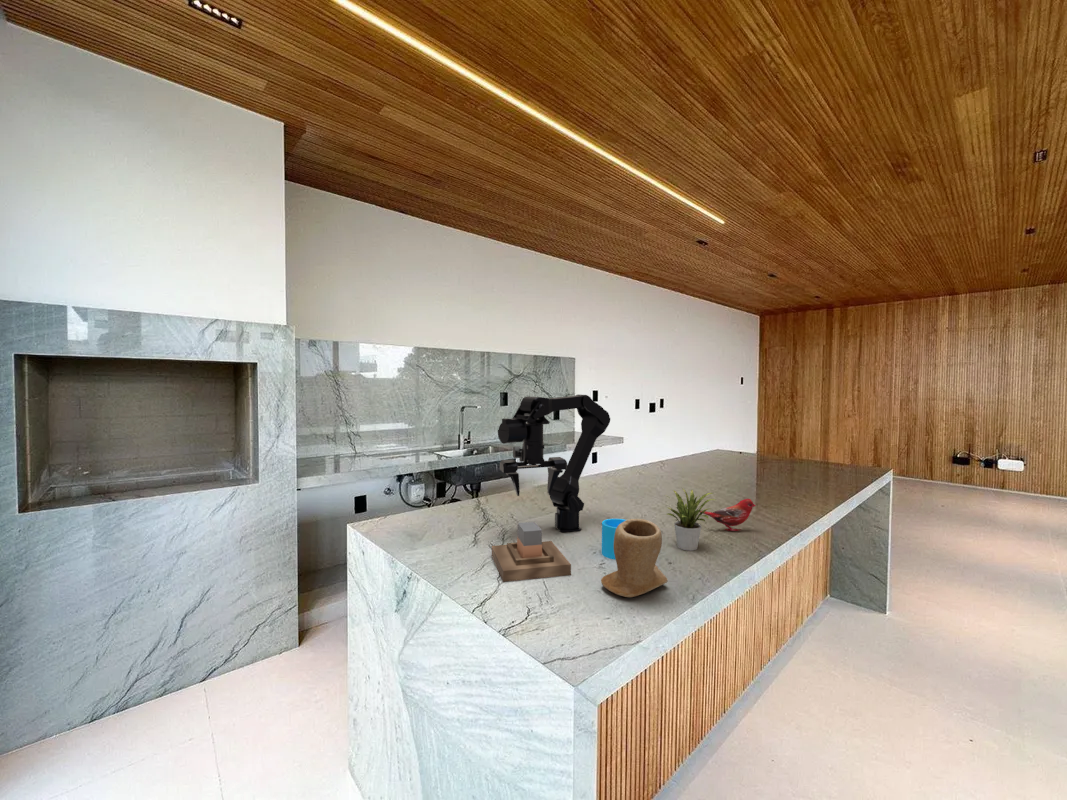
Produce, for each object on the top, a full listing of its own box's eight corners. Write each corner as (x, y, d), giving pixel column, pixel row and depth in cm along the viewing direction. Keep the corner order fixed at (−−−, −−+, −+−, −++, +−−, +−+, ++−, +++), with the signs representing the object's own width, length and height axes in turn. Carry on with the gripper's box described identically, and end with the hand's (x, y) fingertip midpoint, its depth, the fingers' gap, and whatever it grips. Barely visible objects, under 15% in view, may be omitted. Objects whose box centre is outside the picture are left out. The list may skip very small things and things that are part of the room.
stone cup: (633, 609, 92) (635, 535, 91) (593, 587, 101) (594, 519, 101) (682, 590, 100) (684, 522, 100) (641, 571, 110) (642, 509, 109)
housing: (541, 559, 110) (542, 530, 110) (523, 560, 109) (523, 531, 109) (534, 548, 117) (534, 521, 117) (517, 550, 116) (517, 522, 116)
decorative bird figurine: (757, 533, 138) (758, 500, 138) (697, 532, 139) (698, 499, 138) (753, 529, 141) (754, 497, 141) (694, 529, 141) (695, 496, 141)
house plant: (728, 547, 126) (730, 488, 125) (708, 562, 116) (709, 497, 115) (679, 535, 136) (680, 480, 135) (656, 547, 126) (657, 488, 125)
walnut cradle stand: (551, 550, 123) (551, 536, 123) (570, 574, 108) (571, 559, 107) (491, 555, 119) (491, 541, 119) (503, 581, 104) (503, 565, 103)
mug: (613, 562, 115) (614, 530, 115) (595, 551, 123) (595, 520, 122) (651, 554, 121) (652, 523, 120) (631, 544, 128) (632, 515, 128)
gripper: (555, 435, 142) (555, 485, 143) (495, 438, 137) (496, 490, 138) (567, 440, 132) (567, 494, 132) (503, 443, 126) (504, 499, 127)
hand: (533, 494), depth 133 cm, fingers open, 9 cm apart
